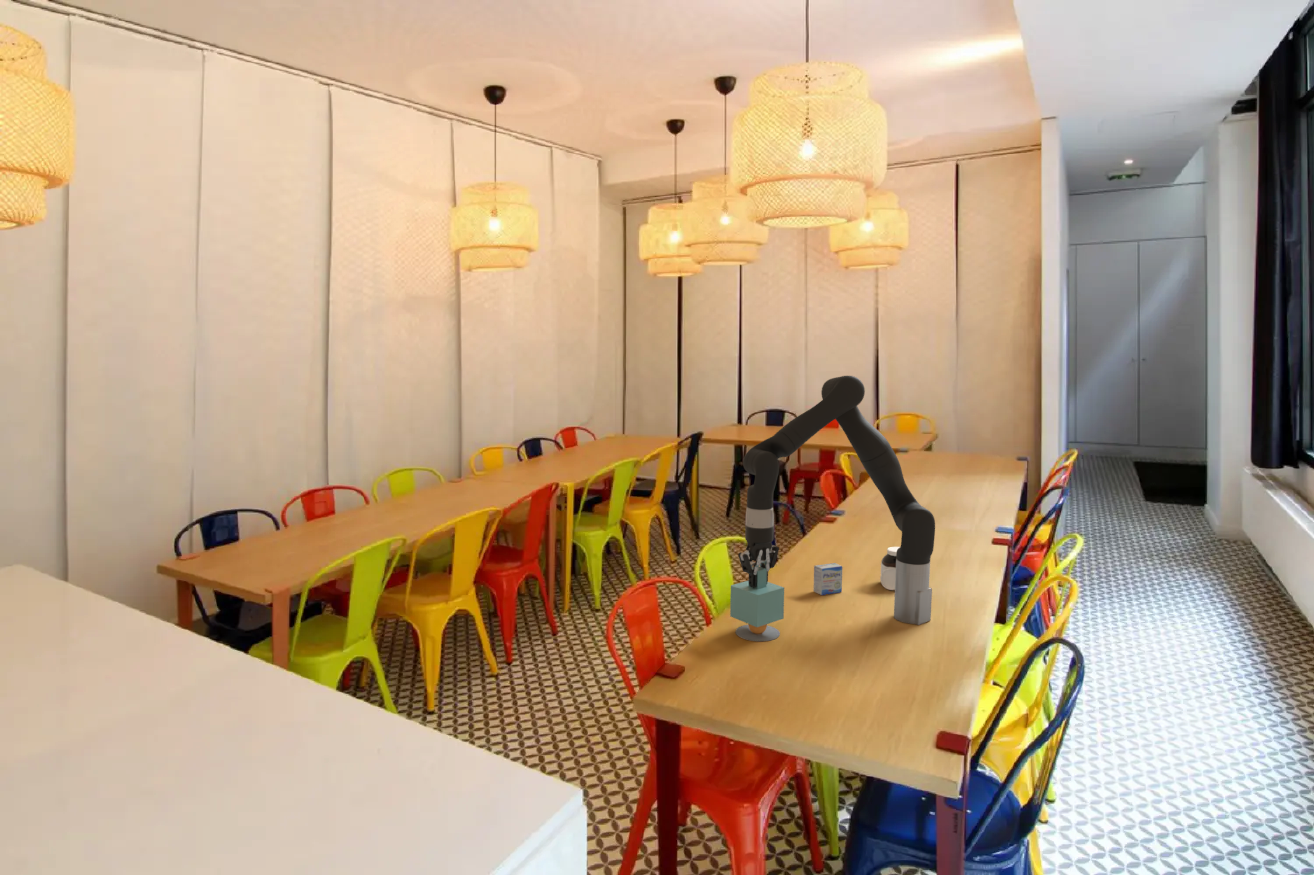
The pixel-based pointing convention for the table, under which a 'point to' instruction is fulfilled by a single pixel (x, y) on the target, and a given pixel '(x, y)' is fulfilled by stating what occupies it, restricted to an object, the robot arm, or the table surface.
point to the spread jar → (889, 568)
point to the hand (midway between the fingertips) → (758, 585)
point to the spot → (767, 635)
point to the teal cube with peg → (757, 601)
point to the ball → (757, 629)
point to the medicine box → (828, 579)
